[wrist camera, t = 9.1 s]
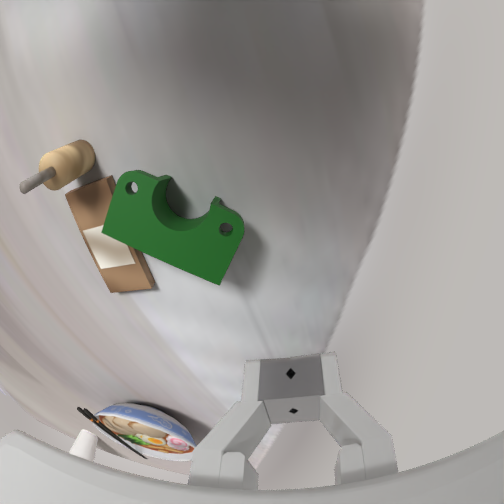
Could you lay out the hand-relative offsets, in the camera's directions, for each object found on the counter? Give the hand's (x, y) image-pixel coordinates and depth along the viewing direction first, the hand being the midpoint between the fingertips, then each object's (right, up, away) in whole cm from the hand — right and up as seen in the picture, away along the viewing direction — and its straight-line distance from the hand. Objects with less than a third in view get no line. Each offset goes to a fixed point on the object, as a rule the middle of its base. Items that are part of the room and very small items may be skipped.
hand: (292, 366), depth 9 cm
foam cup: (-55, -56, +60) cm, 99 cm away
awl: (-19, +14, +15) cm, 28 cm away
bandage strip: (-17, +6, +20) cm, 26 cm away
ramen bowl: (-22, -30, +42) cm, 56 cm away
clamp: (-8, +8, +18) cm, 21 cm away
